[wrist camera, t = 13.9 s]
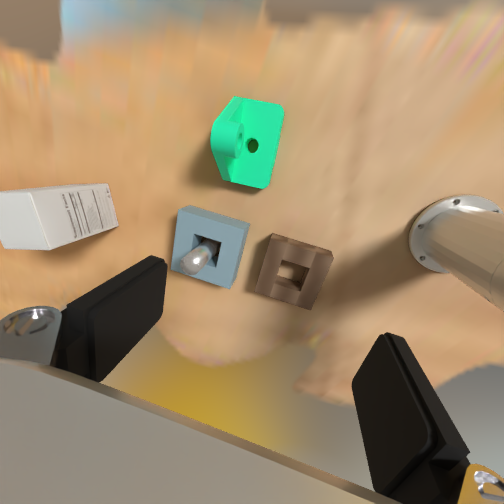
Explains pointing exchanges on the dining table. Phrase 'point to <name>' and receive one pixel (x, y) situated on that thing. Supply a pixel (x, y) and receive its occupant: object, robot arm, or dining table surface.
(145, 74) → the dining table surface
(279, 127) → the camera mount
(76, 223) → the supplement box
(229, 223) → the socket block
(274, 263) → the walnut mount block
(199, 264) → the steel pin
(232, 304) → the dining table surface
